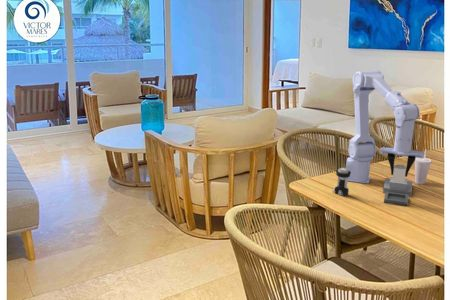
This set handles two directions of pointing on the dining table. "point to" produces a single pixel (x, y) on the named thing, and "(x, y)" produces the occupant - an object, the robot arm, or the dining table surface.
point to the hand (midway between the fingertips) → (399, 174)
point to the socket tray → (396, 198)
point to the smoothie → (421, 169)
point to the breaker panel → (398, 187)
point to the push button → (342, 182)
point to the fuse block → (399, 173)
